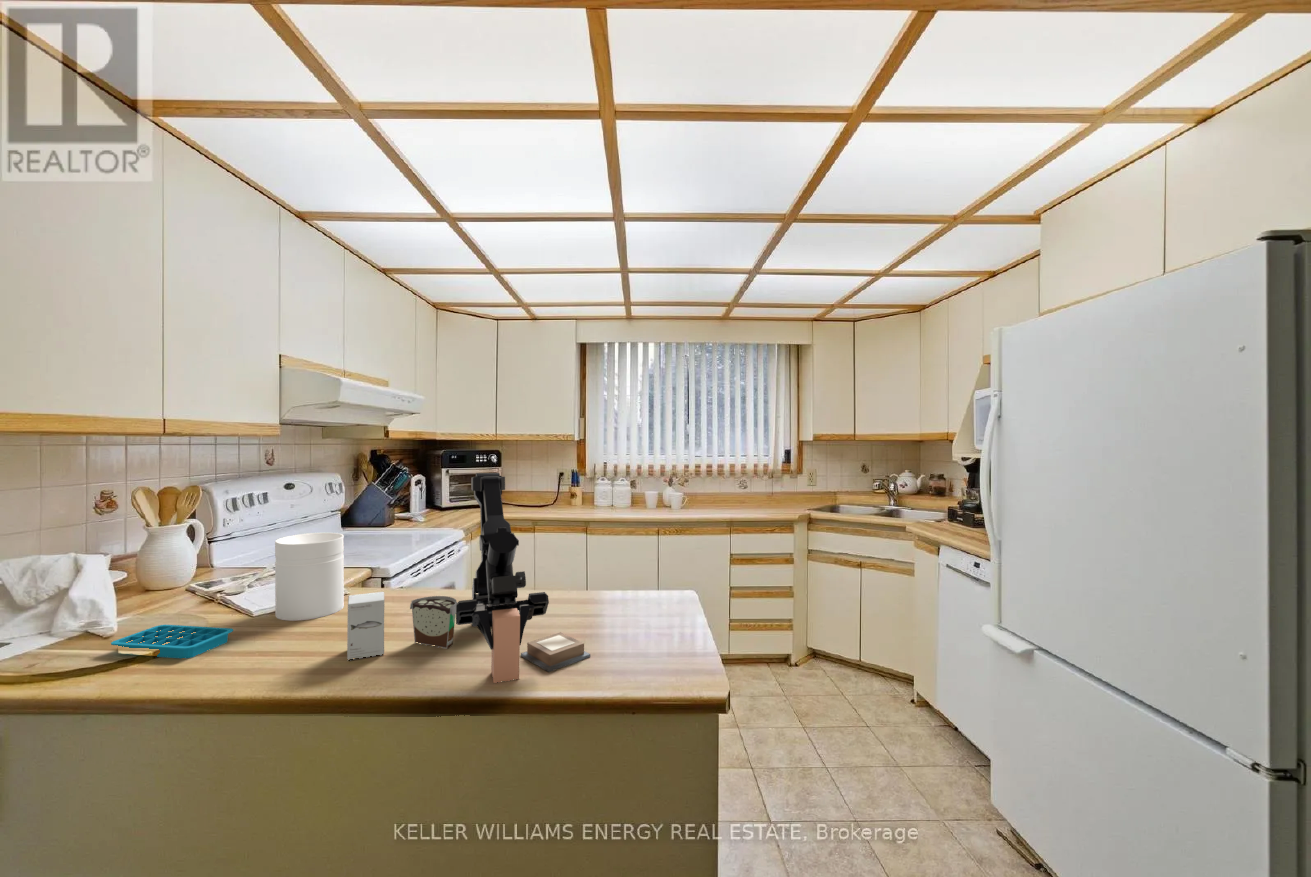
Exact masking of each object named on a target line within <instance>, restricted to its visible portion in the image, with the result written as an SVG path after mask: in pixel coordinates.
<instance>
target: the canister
mask: <svg viewBox="0 0 1311 877" xmlns="http://www.w3.org/2000/svg"><path fill="white" fill-rule="evenodd" d="M344 545H345V544H344V534H342V533H340V532H307V533H299V534H294V535H287V536H284V537H280V538H278V539H275V541H274V556H275V557H274V558H275V562H274V566H275V567H274V568H275V569H274V571H275V572H274V579H275V582H274V584H275V586H274V588H275V589H274V591H275V593H274V594H275V598H274V599H275V600H274V601H275V606H274V607H275V608H274V609H275V610H274V612H275V615H274V616H275V618H276V619H278V620H282V621H291V622H295V621H307V620H315V619H318V618H323V617H328V616H330V615H333V614H335V613H337V612H340V611H341V610H343V608H344V607H345V604H344V602H345V593H344V592H345V589H344V588H345V586H344V585H345V584H344V583H345V579H344V577H345V573H344V572H345V567H344V566H345V565H344V564H345V563H344V562H345V558H344V551H345V550H344V549H345V548H344Z"/></svg>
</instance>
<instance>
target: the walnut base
mask: <svg viewBox="0 0 1311 877" xmlns="http://www.w3.org/2000/svg"><path fill="white" fill-rule="evenodd" d="M526 644H527V645H526V646H527V647H526V648H527V649H526V650H527V651H524V652H521V653H520V657H522V658H524V659H525V660H527V661H528V662H530V663H532V664H534V665H536V666H538V667H539V668H541V669H543V670H544V671H547V672H548V673H550V672H552V671H555V670H559V669H561V668H564V667H567V666H569V665H571V664H575V663H578V662H580V661H583V660H585V659H588V658H590V657H591V653H589V652H587V651H586V650H585V642H583V641H580V640H578V639H576V638H574V637H572V636H569V635H567V634H565V633H564V632H561V631H560V632H557V633H553V634H550V635H547V636H544V637H542V638H538V639H535V640H532V641H528V642H527V643H526Z"/></svg>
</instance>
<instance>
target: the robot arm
mask: <svg viewBox="0 0 1311 877" xmlns="http://www.w3.org/2000/svg"><path fill="white" fill-rule="evenodd" d="M470 486H471V487H470V488H471V491H472V492H473V498H474V499H475V502H476V503H477V504H478V505H479V508H480V509H479V510H480V514H479V515H480V535H479V551H480V552H481V553H480V555H481V556H480V557H481V558H480V559H481V562H480V563H479V565H478V567H477V569H476V571H475V577H474V578H473V579H472V586H471V587H472V588H471V594H472V595H471V599H465V600H462V599H461V600H458V601H457V604H456V614H455V625H457V626H460V625H461V626H463V625H469V624H471V626H472V627H474V628H475V627H477V629H478V630H479V632H481V634H482V636H483V637H484V639H485V641H486V643H487V645H488V647H489V649H490V650H492V649H493V639H492V611H494V610H503V609H513V608H517V610H518V612H519V614H520V646H521V645H522V640H523V635H524V631H525V627H526V624H527V622H528V621H531V620H532V619H533V617H537V616H544V615H546V613H547V611H548V607H549V604H550V601H549V595H548V594H547V593H546V592H545V591H542V592H540V591H539V592H532V593H528V596H527V599H525V600H517V598H518V589H523V588H525V587H526V586H527V581H526V580H527V579H526V578H527V577H526V572H525V571H523V570H522V571H517V572H515V574H514V569H513V568H514V567H513V563H514V560H515V557H516V556H515V555H516V551H517V547H518V546H519V545H520V542H519V539H518V538H517V537H516V535H515V533H514V532H512V528H511V524H510V522H509V521H507V520H506V519H505V517H504V507H503V499H502V495H503V491H505V490H506V476H502V475H500V472H476V473H475V476H473V477H471V480H470Z"/></svg>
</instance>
